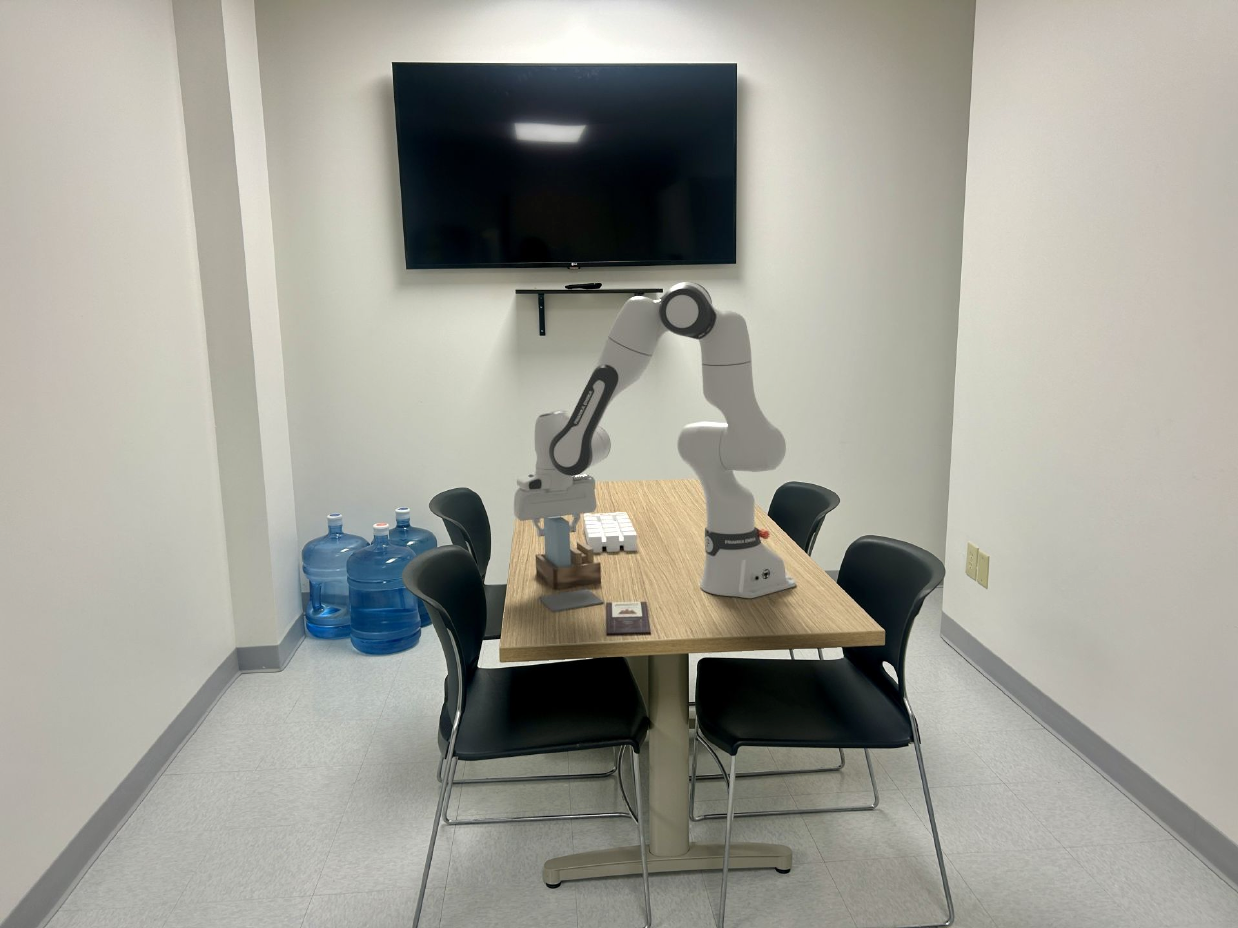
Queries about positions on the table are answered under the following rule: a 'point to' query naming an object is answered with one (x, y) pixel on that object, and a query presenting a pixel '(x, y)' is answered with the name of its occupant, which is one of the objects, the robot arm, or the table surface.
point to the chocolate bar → (627, 618)
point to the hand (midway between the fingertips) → (556, 533)
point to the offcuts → (581, 554)
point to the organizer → (610, 532)
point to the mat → (570, 600)
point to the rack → (567, 574)
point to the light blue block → (557, 541)
